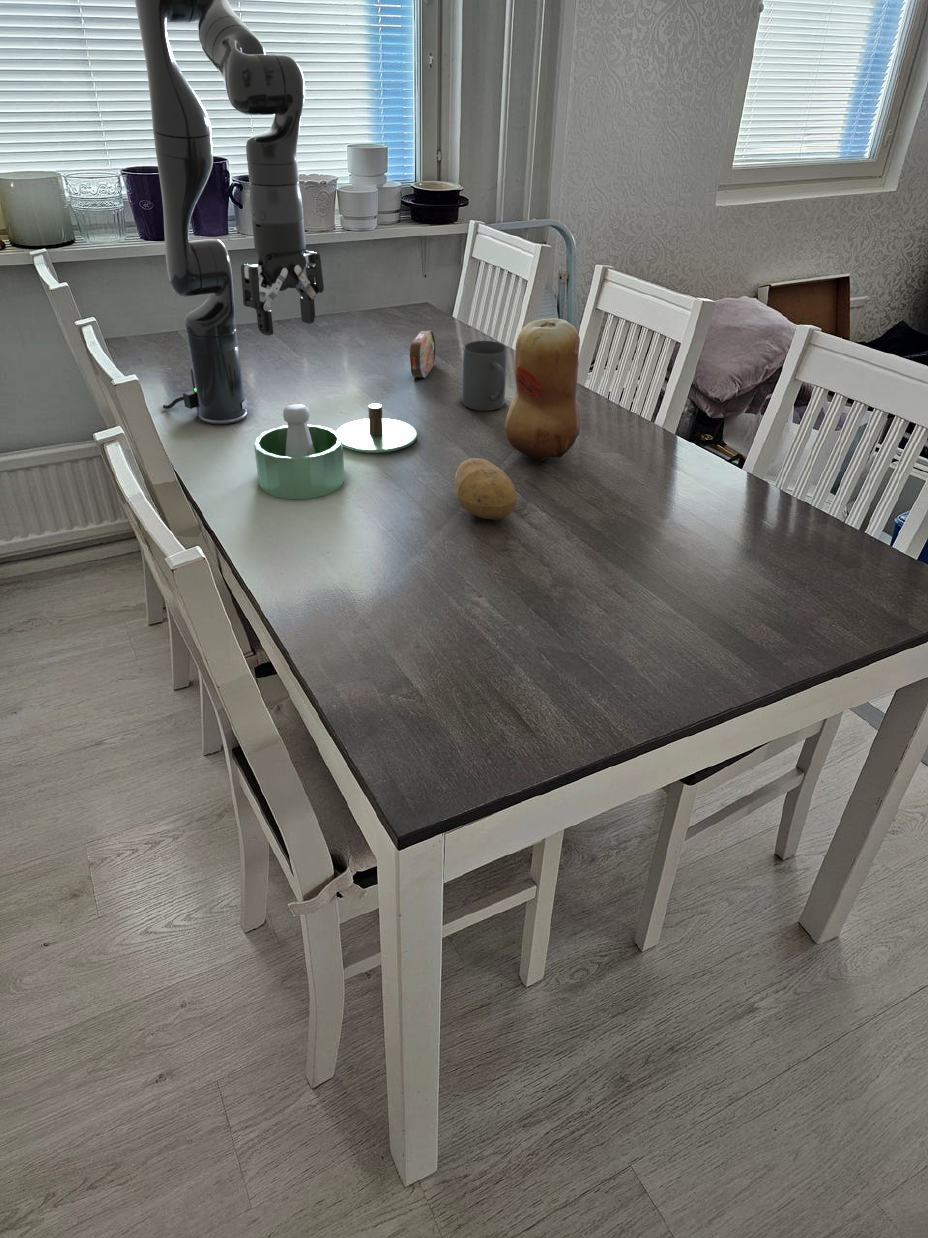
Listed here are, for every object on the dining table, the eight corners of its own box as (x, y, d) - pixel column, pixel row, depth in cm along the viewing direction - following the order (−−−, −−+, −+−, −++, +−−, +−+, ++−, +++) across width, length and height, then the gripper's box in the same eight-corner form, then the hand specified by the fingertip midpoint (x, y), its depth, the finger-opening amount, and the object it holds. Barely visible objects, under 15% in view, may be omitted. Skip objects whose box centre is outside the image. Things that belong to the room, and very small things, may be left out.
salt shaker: (287, 471, 152) (279, 400, 144) (319, 470, 152) (314, 399, 145) (284, 485, 147) (276, 413, 140) (318, 485, 148) (312, 412, 140)
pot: (243, 491, 146) (237, 450, 142) (285, 458, 158) (281, 419, 153) (321, 505, 142) (317, 464, 138) (357, 470, 154) (355, 431, 150)
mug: (455, 398, 185) (456, 342, 178) (493, 393, 188) (495, 338, 181) (481, 421, 174) (483, 362, 168) (521, 415, 177) (524, 357, 171)
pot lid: (322, 448, 162) (319, 414, 158) (356, 419, 174) (354, 387, 170) (398, 460, 158) (397, 426, 154) (428, 430, 170) (428, 397, 166)
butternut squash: (489, 456, 160) (494, 320, 146) (534, 436, 168) (543, 305, 154) (547, 479, 152) (559, 337, 138) (591, 457, 161) (607, 322, 146)
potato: (473, 538, 134) (475, 492, 130) (442, 500, 145) (443, 456, 140) (529, 528, 137) (533, 483, 133) (495, 491, 148) (497, 448, 143)
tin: (421, 382, 192) (421, 345, 188) (407, 381, 193) (407, 344, 188) (436, 362, 205) (436, 326, 200) (423, 361, 205) (423, 325, 200)
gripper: (296, 207, 132) (305, 314, 141) (222, 219, 123) (236, 333, 132) (330, 213, 128) (337, 323, 138) (256, 226, 119) (269, 343, 128)
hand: (287, 328), depth 135 cm, fingers open, 8 cm apart
